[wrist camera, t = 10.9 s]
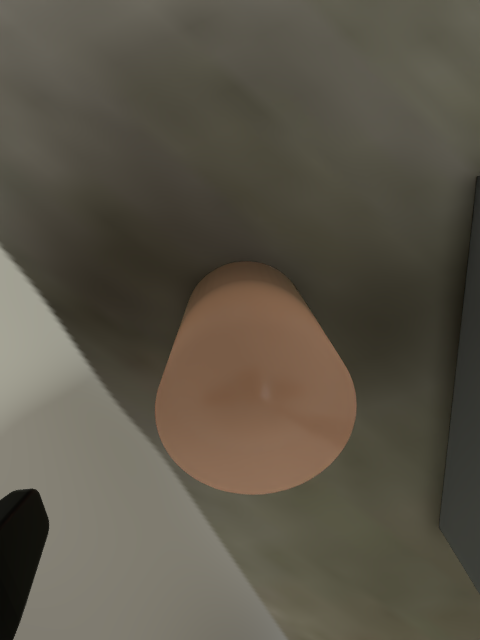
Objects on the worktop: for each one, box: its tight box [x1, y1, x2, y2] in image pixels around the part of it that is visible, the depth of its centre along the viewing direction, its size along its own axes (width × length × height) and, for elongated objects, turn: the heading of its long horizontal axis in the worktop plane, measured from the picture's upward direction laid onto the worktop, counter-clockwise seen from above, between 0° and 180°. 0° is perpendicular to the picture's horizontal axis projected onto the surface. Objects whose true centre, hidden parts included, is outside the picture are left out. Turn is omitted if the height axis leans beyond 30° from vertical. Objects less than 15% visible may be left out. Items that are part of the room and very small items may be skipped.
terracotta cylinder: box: [155, 261, 357, 495], centre depth 13 cm, size 5×5×7 cm
